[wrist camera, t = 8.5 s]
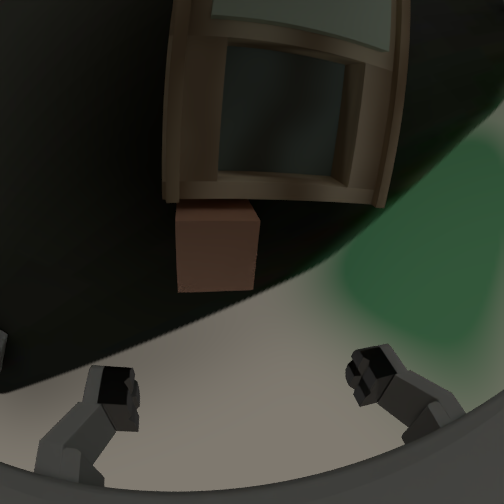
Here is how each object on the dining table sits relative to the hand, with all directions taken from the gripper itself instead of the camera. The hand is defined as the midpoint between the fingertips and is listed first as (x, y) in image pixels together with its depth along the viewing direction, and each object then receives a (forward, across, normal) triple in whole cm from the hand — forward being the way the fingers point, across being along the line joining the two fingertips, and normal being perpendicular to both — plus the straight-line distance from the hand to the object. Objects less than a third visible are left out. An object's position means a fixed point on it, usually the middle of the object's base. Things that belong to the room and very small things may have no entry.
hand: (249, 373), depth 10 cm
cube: (+13, 0, 0) cm, 13 cm away
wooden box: (+13, -4, -13) cm, 18 cm away
